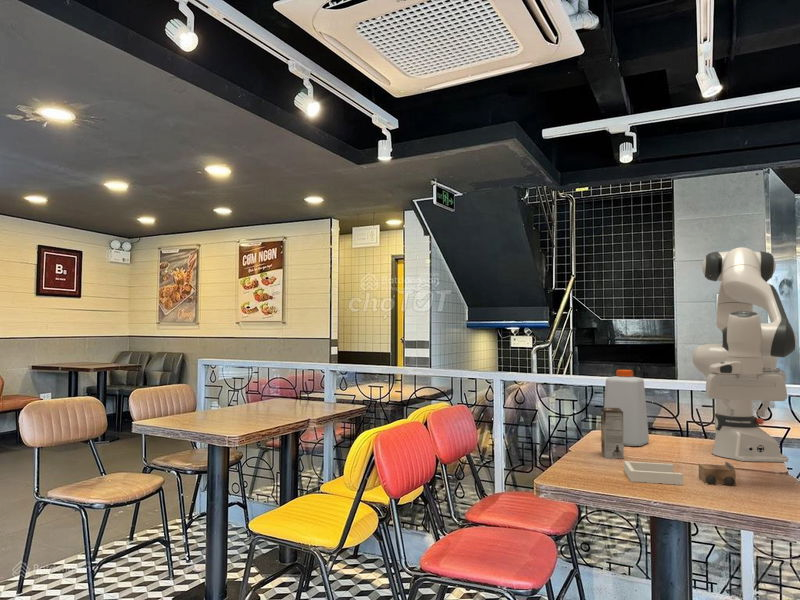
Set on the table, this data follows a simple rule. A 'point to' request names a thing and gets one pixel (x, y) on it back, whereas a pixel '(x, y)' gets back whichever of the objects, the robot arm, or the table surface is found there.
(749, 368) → the robot arm
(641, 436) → the plastic bottle
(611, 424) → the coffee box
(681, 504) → the table surface
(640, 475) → the bay
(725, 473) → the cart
